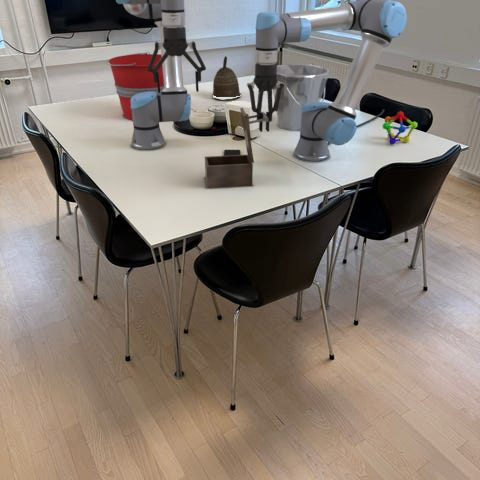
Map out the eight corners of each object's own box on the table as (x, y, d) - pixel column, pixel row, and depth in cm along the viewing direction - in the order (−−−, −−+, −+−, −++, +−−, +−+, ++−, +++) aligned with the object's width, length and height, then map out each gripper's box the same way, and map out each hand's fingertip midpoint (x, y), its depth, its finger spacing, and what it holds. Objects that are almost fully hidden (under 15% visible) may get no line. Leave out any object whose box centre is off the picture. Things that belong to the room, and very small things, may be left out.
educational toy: (377, 146, 209) (379, 114, 202) (384, 138, 219) (386, 107, 211) (411, 149, 202) (415, 116, 195) (417, 141, 212) (420, 109, 204)
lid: (244, 116, 155) (268, 111, 155) (240, 108, 163) (263, 103, 163) (251, 163, 164) (274, 158, 165) (247, 153, 173) (268, 149, 173)
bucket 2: (296, 138, 215) (301, 78, 201) (255, 124, 234) (256, 68, 219) (335, 125, 232) (342, 70, 217) (294, 113, 251) (297, 61, 236)
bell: (227, 105, 294) (202, 96, 282) (238, 66, 289) (213, 55, 277) (243, 108, 280) (217, 98, 268) (255, 66, 275) (229, 55, 263)
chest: (207, 188, 167) (206, 166, 163) (205, 177, 176) (204, 156, 171) (252, 185, 169) (252, 164, 165) (248, 175, 178) (248, 154, 173)
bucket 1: (122, 105, 264) (115, 51, 248) (181, 105, 263) (177, 51, 248) (106, 122, 235) (96, 62, 219) (171, 123, 234) (167, 63, 218)
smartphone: (222, 162, 187) (224, 149, 200) (222, 163, 188) (224, 150, 200) (240, 162, 187) (240, 149, 200) (240, 163, 188) (240, 151, 200)
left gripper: (135, 28, 143) (142, 95, 154) (212, 27, 146) (213, 93, 157) (136, 25, 149) (143, 89, 161) (210, 24, 152) (212, 87, 164)
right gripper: (246, 65, 147) (245, 134, 160) (289, 64, 149) (285, 132, 161) (243, 61, 153) (242, 128, 166) (284, 60, 155) (281, 126, 168)
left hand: (178, 91), depth 159 cm, fingers open, 13 cm apart
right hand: (264, 130), depth 164 cm, fingers closed on lid, 2 cm apart
